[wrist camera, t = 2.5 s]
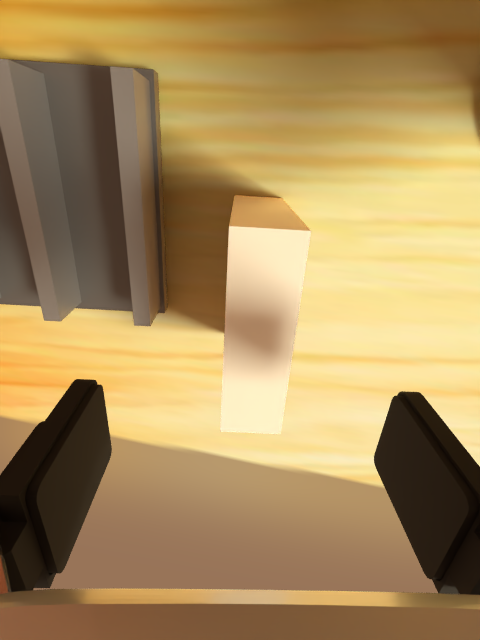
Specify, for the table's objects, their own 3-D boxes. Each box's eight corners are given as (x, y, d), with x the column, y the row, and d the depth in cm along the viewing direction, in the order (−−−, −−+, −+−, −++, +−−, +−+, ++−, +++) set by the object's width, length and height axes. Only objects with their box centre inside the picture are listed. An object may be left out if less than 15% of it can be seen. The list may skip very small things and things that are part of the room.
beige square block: (282, 198, 21) (311, 230, 12) (267, 336, 26) (280, 434, 17) (234, 195, 21) (229, 226, 12) (227, 334, 26) (220, 431, 17)
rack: (157, 73, 18) (137, 54, 15) (167, 307, 25) (154, 333, 21) (-180, 50, 18) (-285, 24, 14) (-83, 293, 24) (-140, 317, 21)
